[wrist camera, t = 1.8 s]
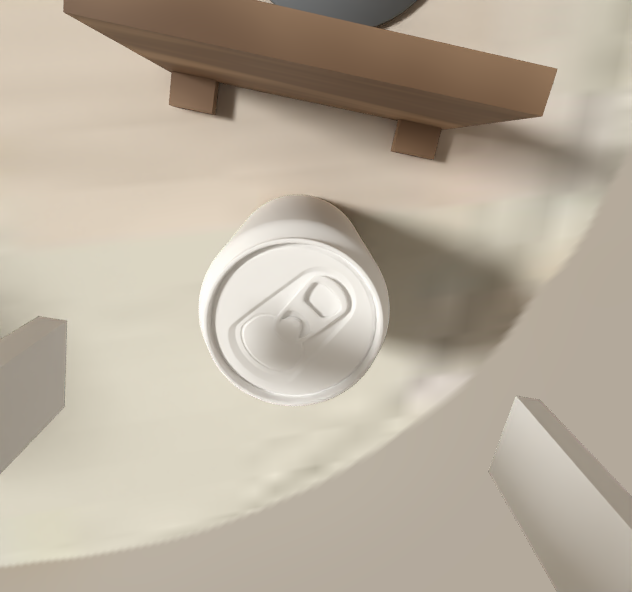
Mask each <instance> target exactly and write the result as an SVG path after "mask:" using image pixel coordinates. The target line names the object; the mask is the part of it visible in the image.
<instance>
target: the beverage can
mask: <svg viewBox="0 0 632 592" xmlns="http://www.w3.org/2000/svg"><path fill="white" fill-rule="evenodd" d="M389 317H390V303H389V295H388V290H387V286H386V283H385V280H384V277H383V275H382V273H381V271H380V269H379V267H378V265H377V263H376V262H375V260H374V259H373V257H372V255H371V254H370V252H369V250H368V249H367V247H366V245H365V244H364V242H363V241H362V239H361V237H360V236H359V234H358V232H357V231H356V229H355V227H354V226H353V224H352V223H351V221H350V220H349V219H348V218H347V217H346V215H345V214H344V213H343V212H342V211H340V210H339V209H338V208H337V207H335V206H334V205H332V204H331V203H329V202H327V201H325V200H322V199H320V198H317V197H313V196H308V195H288V196H283V197H279V198H276V199H273V200H271V201H269V202H267V203H265V204H263V205H262V206H260V207H259V208H258V209H256V210H255V211H254V212H253V213H252V214H251V215H250V216H249V217H248V218H247V220H246V221H245V222H244V223H243V224H242V226H241V227H240V228H239V229H238V231H237V232H236V233H235V234H234V235H233V237H232V238H231V239H230V240H229V241H228V243H227V244H226V245H225V246H224V247H223V249H222V250H221V251H220V252H219V254H218V255H217V256H216V258H215V259H214V260H213V262H212V264H211V265H210V267H209V269H208V271H207V273H206V275H205V278H204V280H203V284H202V287H201V291H200V297H199V321H200V327H201V331H202V334H203V338H204V340H205V343H206V345H207V347H208V350H209V352H210V355H211V357H212V359H213V361H214V362H215V364H216V365H217V367H218V368H219V370H220V371H221V372H222V374H223V375H224V376H225V377H226V378H227V379H228V380H229V381H230V382H231V383H232V384H233V385H235V386H236V387H237V388H239V389H240V390H242V391H243V392H245V393H246V394H248V395H250V396H252V397H254V398H256V399H259V400H262V401H264V402H268V403H272V404H276V405H283V406H305V405H312V404H317V403H320V402H324V401H327V400H329V399H332V398H334V397H336V396H338V395H340V394H342V393H343V392H345V391H346V390H348V389H349V388H351V387H352V386H353V385H354V384H356V383H357V382H358V381H359V380H360V379H361V378H362V377H363V376H364V374H365V373H366V372H367V371H368V369H369V368H370V366H371V365H372V363H373V362H374V360H375V358H376V356H377V355H378V353H379V351H380V349H381V347H382V345H383V342H384V340H385V337H386V334H387V330H388V325H389Z"/></svg>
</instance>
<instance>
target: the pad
mask: <svg viewBox="0 0 632 592" xmlns="http://www.w3.org/2000/svg"><path fill="white" fill-rule="evenodd" d="M270 1H271V2H272V3H274V4H275V5H279V6H283V7H288V8H292V9H297V10H301V11H305V12H310V13H314V14H319V15H323V16H327V17H332V18H336V19H341V20H345V21H349V22H354V23H358V24H363V25H367V26H371V27H376V26H379V25H381V24H383V23H385V22H388V21H390V20H392V19H393V18H395V17H396V16H398V15H399V14H401V13H403V12H404V11H405V10H406V9H408V8H409V7H410V6H411V5H412V4H413V3H415V2H416V1H417V0H270Z"/></svg>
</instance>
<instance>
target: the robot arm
mask: <svg viewBox="0 0 632 592" xmlns="http://www.w3.org/2000/svg"><path fill="white" fill-rule="evenodd" d="M66 339H67V321H65V320H59V319H53V318H47V317H41V316H38V317H36V318H35V319H33V320H31V321H30V322H28V323H26V324H25V325H23V326H22V327H20V328H18V329H17V330H15V331H13V332H12V333H10V334H8V335H7V336H5V337H3V338H2V339H0V474H1V473H2V472H3V471H4V470H5V469H6V468H7V466H8V465H9V464H10V463H11V462H12V461H13V460H14V459H15V458H16V457H17V456H18V455H19V454H20V453H21V452H22V451H23V450H24V449H25V448H26V447H27V446H28V445H29V443H30V442H31V441H32V440H33V439H34V438H35V437H36V436H37V435H38V434H39V433H40V432H41V431H42V430H43V429H44V428H45V427H46V426H47V425H48V424H49V423H50V422H51V420H52V419H53V418H54V417H55V416H56V415H57V414H58V413H59V412H60V411H61V410H62V409H63V408H64V406H65V373H66ZM488 472H489V474H490V476H491V477H492V479H493V481H494V483H495V484H496V486H497V488H498V489H499V491H500V493H501V495H502V497H503V498H504V500H505V502H506V504H507V505H508V507H509V509H510V511H511V512H512V514H513V516H514V518H515V519H516V521H517V523H518V525H519V526H520V528H521V530H522V532H523V533H524V535H525V537H526V539H527V540H528V542H529V544H530V546H531V547H532V549H533V551H534V553H535V554H536V556H537V558H538V560H539V561H540V563H541V565H542V567H543V568H544V570H545V572H546V574H547V575H548V577H549V579H550V581H551V582H552V584H553V586H554V588H555V590H556V591H557V592H632V496H631V495H630V494H629V493H628V492H627V491H626V490H625V489H624V488H623V487H622V486H621V485H620V483H619V482H618V481H617V480H616V479H615V478H614V477H613V476H612V475H611V474H610V473H609V472H608V471H607V470H606V469H605V468H604V467H603V466H602V465H601V463H600V462H599V461H598V460H597V459H596V458H595V457H594V456H593V455H592V454H591V453H590V452H589V451H588V450H587V449H586V448H585V447H584V445H582V443H581V442H580V441H579V440H578V439H577V438H576V437H575V436H574V435H573V434H572V433H571V432H570V431H569V430H568V429H567V428H566V426H565V425H564V424H563V423H562V422H561V421H560V420H559V419H558V418H557V417H556V416H555V415H554V414H553V413H552V412H551V411H550V410H549V409H548V408H547V406H546V405H545V404H544V403H543V402H542V401H541V400H538V399H532V398H527V397H521V396H516V397H515V400H514V403H513V406H512V408H511V411H510V414H509V416H508V419H507V422H506V424H505V427H504V430H503V433H502V435H501V438H500V441H499V443H498V446H497V449H496V452H495V455H494V457H493V460H492V463H491V466H490V468H489V471H488Z"/></svg>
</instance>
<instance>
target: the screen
mask: <svg viewBox="0 0 632 592" xmlns="http://www.w3.org/2000/svg"><path fill="white" fill-rule="evenodd" d="M63 12H64V13H66V14H68V15H70V16H71V17H73V18H75V19H77V20H78V21H80V22H82V23H84V24H86V25H87V26H89V27H91V28H93V29H95V30H96V31H98V32H100V33H102V34H103V35H105V36H107V37H109V38H111V39H112V40H114V41H116V42H118V43H120V44H121V45H123V46H125V47H127V48H128V49H130V50H132V51H134V52H136V53H137V54H139V55H141V56H143V57H145V58H146V59H148V60H150V61H152V62H153V63H155V64H157V65H159V66H161V67H162V68H164V69H166V70H168V71H170V72H171V73H172V74H171V86H170V98H169V105H171V106H174V107H179V108H184V109H189V110H194V111H199V112H204V113H209V114H213V115H215V112H216V104H217V95H218V86H219V83H223V84H228V85H233V86H237V87H242V88H247V89H252V90H256V91H261V92H266V93H270V94H275V95H280V96H285V97H289V98H294V99H299V100H304V101H308V102H313V103H318V104H322V105H327V106H332V107H337V108H341V109H346V110H351V111H356V112H360V113H365V114H370V115H375V116H379V117H384V118H389V119H393V120H398V122H397V127H396V131H395V135H394V140H393V144H392V148H391V151H393V152H398V153H403V154H408V155H413V156H418V157H423V158H427V159H434V156H435V152H436V148H437V144H438V140H439V137H440V133H441V130H443V129H451V128H458V127H466V126H474V125H481V124H489V123H496V122H504V121H511V120H519V119H526V118H534V117H541V116H542V115H543V112H544V109H545V106H546V103H547V100H548V97H549V94H550V91H551V88H552V85H553V81H554V78H555V75H556V72H557V69H556V68H552V67H547V66H543V65H538V64H534V63H530V62H525V61H521V60H516V59H512V58H508V57H503V56H499V55H494V54H490V53H486V52H481V51H477V50H472V49H468V48H464V47H459V46H455V45H450V44H446V43H442V42H437V41H433V40H428V39H424V38H420V37H415V36H411V35H406V34H402V33H398V32H393V31H389V30H385V29H380V28H376V27H371V26H367V25H363V24H358V23H354V22H349V21H345V20H341V19H336V18H332V17H327V16H323V15H319V14H314V13H310V12H305V11H301V10H297V9H292V8H288V7H283V6H279V5H275V4H270V3H266V2H261V1H257V0H64V10H63Z"/></svg>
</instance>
